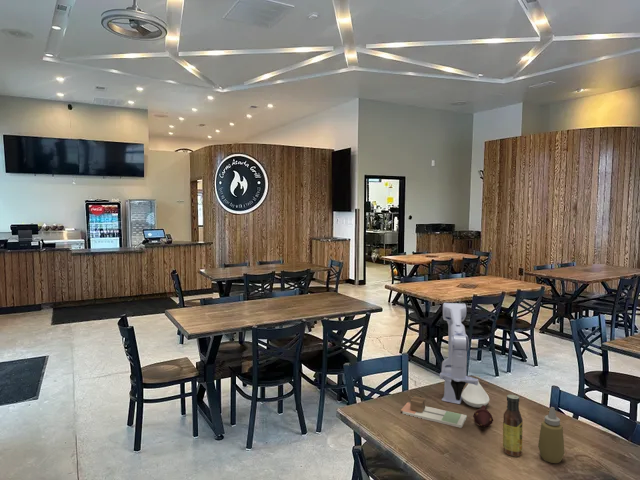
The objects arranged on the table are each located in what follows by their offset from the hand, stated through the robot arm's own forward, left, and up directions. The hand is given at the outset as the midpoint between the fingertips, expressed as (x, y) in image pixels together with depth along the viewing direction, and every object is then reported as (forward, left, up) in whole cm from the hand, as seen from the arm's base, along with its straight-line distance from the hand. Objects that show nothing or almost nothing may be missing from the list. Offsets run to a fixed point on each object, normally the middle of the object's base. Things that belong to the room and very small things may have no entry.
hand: (458, 399), depth 171 cm
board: (-3, -10, -10) cm, 15 cm away
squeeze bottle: (+9, +33, -11) cm, 36 cm away
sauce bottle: (+11, +21, -11) cm, 26 cm away
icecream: (-4, +9, -11) cm, 15 cm away
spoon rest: (-29, +1, -11) cm, 31 cm away
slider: (-3, -17, -9) cm, 19 cm away
